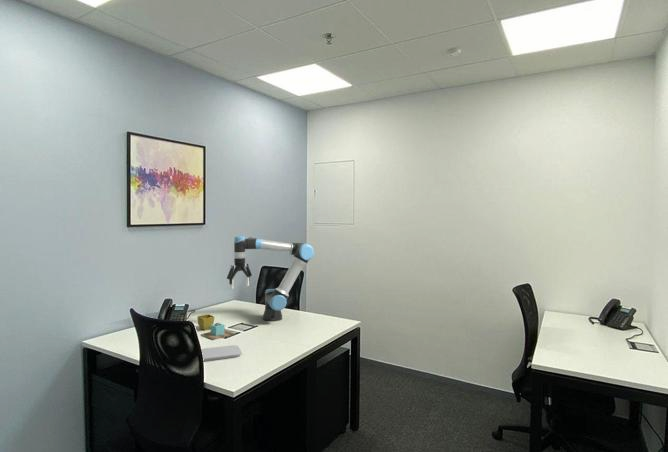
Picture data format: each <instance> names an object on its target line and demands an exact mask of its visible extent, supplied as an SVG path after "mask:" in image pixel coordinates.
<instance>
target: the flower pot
mask: <svg viewBox="0 0 668 452" xmlns="http://www.w3.org/2000/svg"><path fill="white" fill-rule="evenodd" d="M214 322H215V316H214V315H211V314H209V313H207V314H201V315H197V325H198V327H199V328H200V329H201V330H202V331H208V330H211V325H212V324H215V323H214Z"/></svg>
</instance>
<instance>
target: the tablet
mask: <svg viewBox="0 0 668 452" xmlns="http://www.w3.org/2000/svg"><path fill="white" fill-rule="evenodd" d="M201 349H202V353H203V359H204V362H211V361H212V362H213V361H217V360H226V359H234V358H240V357H241V355H242V354H243V353H242V350H241V348H240V346H239V345H236V344H231V345H230V344H229V345H221V346H216V347H215V346H213V347H207V348H201Z"/></svg>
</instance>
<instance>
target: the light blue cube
mask: <svg viewBox="0 0 668 452" xmlns="http://www.w3.org/2000/svg"><path fill="white" fill-rule="evenodd" d="M219 323H220V322H219ZM225 326H226V325H225V324H224V323H220V325H219V326H216V323H213V324H212V325H211V329H210V332H211V333H210V334H212V335H215V336H218V335H222V334H224V330H225Z"/></svg>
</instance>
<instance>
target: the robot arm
mask: <svg viewBox="0 0 668 452" xmlns="http://www.w3.org/2000/svg"><path fill="white" fill-rule="evenodd" d="M233 245H234V249H233V254H234V255H233V256H234V258H233V260H234V261H233V262H234V265H233V264H232V265H230V269H229V272H228V273H227V276H226V279H227V280H229V285H230V286H229V289H231V290H234V278H235V277H236V274H237V273H239V272H240V271H241V272H243V273H244V275H245V286H246V287H249V286H250V278H251V277H252V276H253V275H252V272H251V269H250V267H249V263H246V250H266V251H271V252H279V253H286V254H288V255H290V256H293V259H292V260H293V261H292V262H291V264H290V266H289V267H288V270H286V271H287V272H286V273H285V275H284V277H283V278H282V280H281V282H280V284H279V286H278V287H276V288H268V289H266V290H265V292H264V294H265V297H264V310H263V314H262V320H264V321H267V322H277V321H278V322H279V321H281V320H283V313H282V310H283V309H285V308H286V305H287V303H288V302H287V301H288V298H289V296H290V295H289V292H290V291H291V289H292V287H293V286H294V283H295V282H296V280H297V278H298V276H299V275H300V273H301V272H302V269H303V267H304V266H305V265H307V264H308V262H309V261H310V260H311V259H312V258H314V255H315V248H314V247H313V246H312V245H310V244H309V243H304V242H289V243H288V242H281V241H277V240H276V241H275V240H269V239H262V238H256V237H252V236H251V237H247V238H246V237H245V236H243V235H241V236H240V235H237V236H234V242H233Z"/></svg>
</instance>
